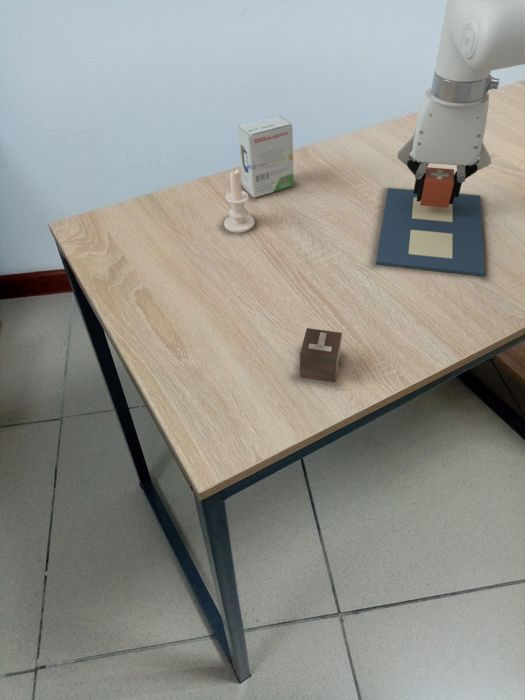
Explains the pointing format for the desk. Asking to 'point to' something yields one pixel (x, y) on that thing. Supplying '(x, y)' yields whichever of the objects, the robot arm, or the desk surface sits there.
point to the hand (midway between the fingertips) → (434, 197)
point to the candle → (237, 207)
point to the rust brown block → (437, 187)
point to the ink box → (266, 155)
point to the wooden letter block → (320, 354)
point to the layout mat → (432, 234)
